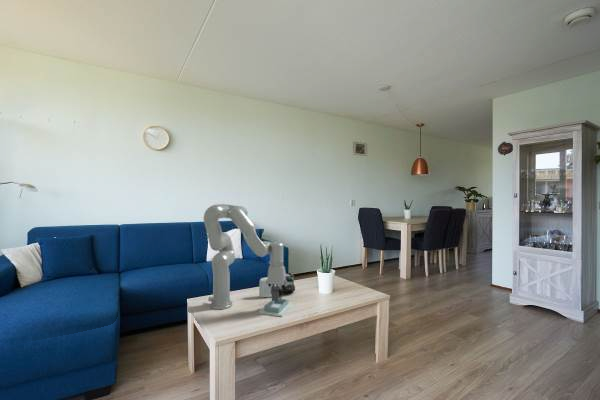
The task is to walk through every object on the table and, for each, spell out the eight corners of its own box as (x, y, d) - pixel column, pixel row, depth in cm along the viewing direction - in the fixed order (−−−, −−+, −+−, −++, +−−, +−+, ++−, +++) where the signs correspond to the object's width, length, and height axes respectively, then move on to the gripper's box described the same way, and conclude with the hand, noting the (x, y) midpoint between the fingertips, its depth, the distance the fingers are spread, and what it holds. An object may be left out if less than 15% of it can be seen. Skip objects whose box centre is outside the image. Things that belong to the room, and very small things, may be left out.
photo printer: (274, 295, 189) (275, 276, 189) (275, 297, 185) (275, 278, 185) (259, 295, 188) (259, 276, 188) (259, 298, 184) (259, 278, 184)
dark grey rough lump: (271, 293, 191) (270, 273, 198) (280, 296, 201) (279, 276, 208) (290, 290, 186) (289, 268, 192) (299, 292, 195) (297, 272, 202)
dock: (258, 313, 160) (258, 307, 160) (272, 302, 177) (272, 296, 177) (282, 316, 155) (282, 310, 155) (293, 305, 172) (293, 299, 172)
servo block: (270, 301, 162) (270, 287, 162) (277, 296, 171) (277, 282, 171) (276, 302, 161) (276, 288, 161) (283, 297, 170) (283, 283, 170)
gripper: (260, 264, 165) (260, 296, 165) (288, 266, 159) (288, 299, 160) (266, 261, 172) (266, 292, 172) (292, 263, 167) (292, 295, 167)
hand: (276, 295), depth 166 cm, fingers closed on servo block, 4 cm apart
